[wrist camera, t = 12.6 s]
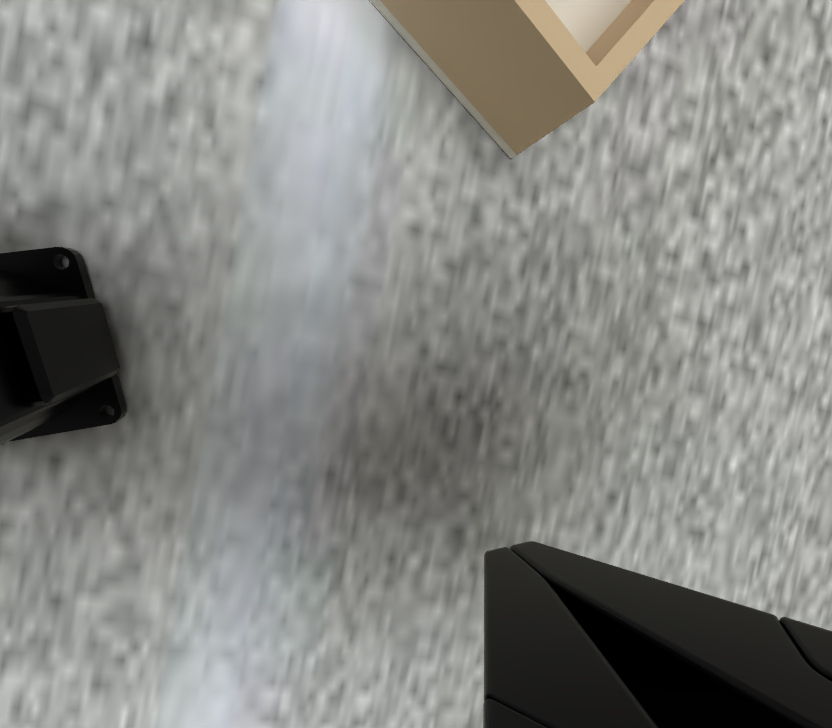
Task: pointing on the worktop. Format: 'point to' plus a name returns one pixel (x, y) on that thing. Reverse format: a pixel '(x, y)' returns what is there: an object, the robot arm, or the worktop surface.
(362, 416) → the worktop surface
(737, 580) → the worktop surface
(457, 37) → the mailer box
